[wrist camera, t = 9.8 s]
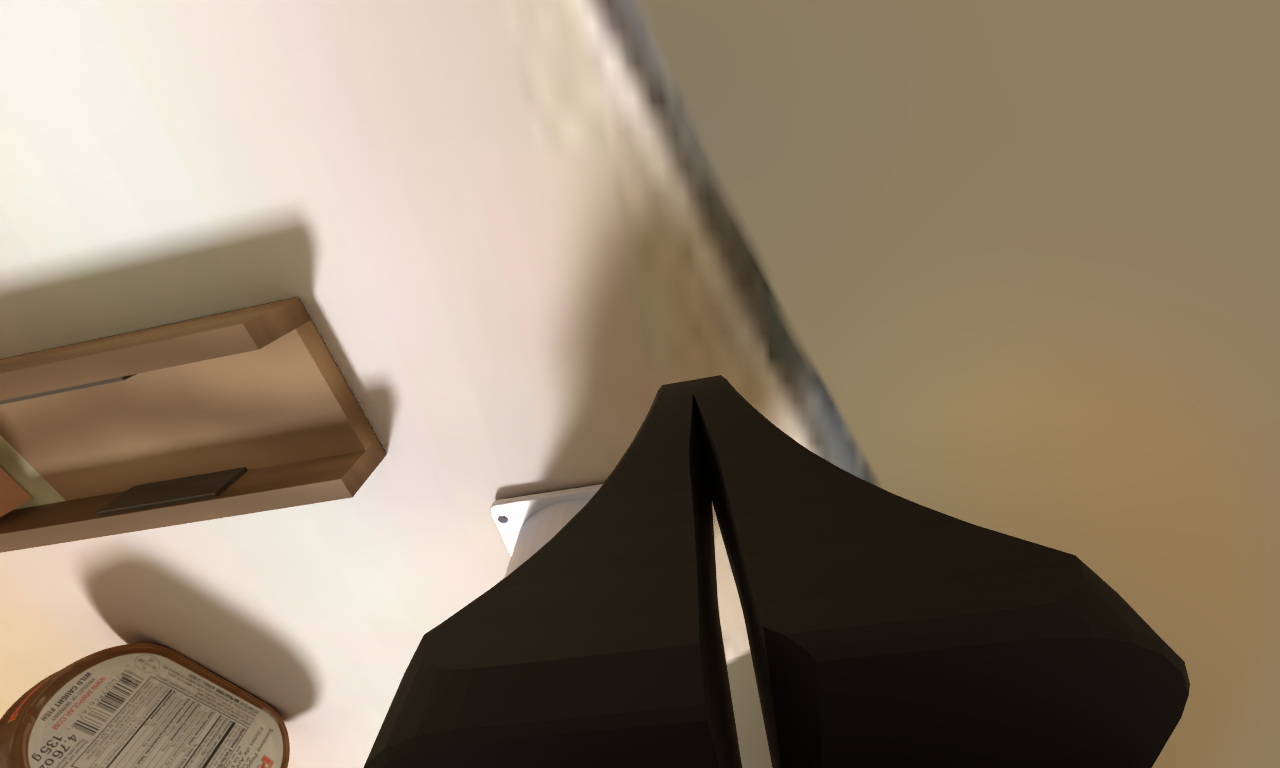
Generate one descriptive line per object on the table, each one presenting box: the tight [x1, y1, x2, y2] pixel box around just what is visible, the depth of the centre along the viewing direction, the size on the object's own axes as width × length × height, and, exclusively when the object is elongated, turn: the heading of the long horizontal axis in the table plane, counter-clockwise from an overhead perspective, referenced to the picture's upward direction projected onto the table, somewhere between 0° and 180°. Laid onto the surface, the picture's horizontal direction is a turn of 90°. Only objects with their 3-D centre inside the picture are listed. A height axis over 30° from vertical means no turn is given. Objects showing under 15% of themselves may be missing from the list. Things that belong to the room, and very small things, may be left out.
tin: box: [0, 643, 290, 768], centre depth 29 cm, size 15×3×8 cm, turn 34°
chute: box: [0, 297, 386, 553], centre depth 21 cm, size 8×23×3 cm, turn 102°
